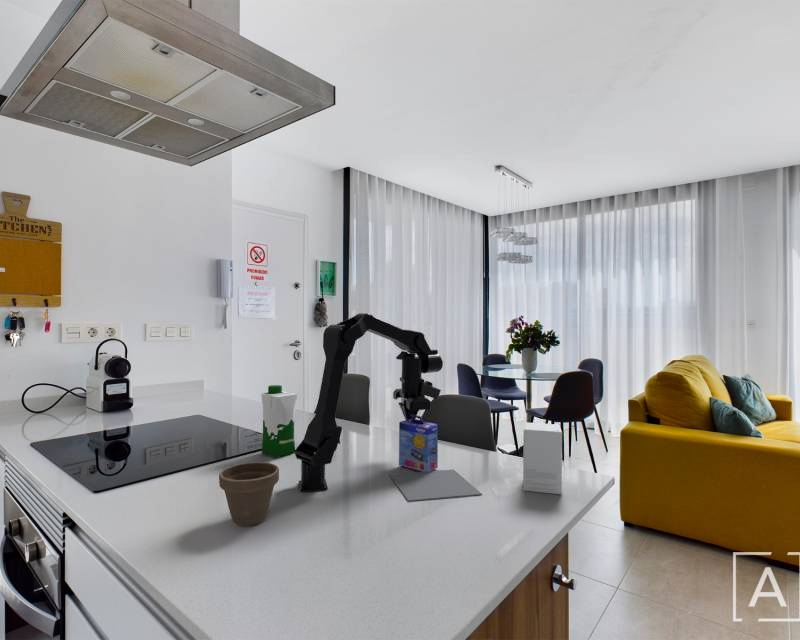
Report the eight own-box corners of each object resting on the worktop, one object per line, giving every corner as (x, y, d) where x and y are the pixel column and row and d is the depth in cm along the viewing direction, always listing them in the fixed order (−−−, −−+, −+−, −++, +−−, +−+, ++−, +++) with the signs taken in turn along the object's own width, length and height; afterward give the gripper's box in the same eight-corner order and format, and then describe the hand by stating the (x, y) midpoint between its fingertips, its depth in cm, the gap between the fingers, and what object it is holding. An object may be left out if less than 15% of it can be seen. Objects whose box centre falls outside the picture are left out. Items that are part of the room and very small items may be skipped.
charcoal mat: (481, 495, 109) (481, 493, 109) (408, 501, 104) (408, 500, 104) (453, 470, 126) (453, 469, 126) (389, 475, 122) (389, 474, 122)
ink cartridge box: (397, 465, 129) (398, 413, 129) (409, 460, 133) (410, 410, 133) (426, 473, 123) (427, 418, 123) (438, 468, 127) (439, 415, 127)
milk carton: (280, 447, 146) (281, 383, 146) (300, 452, 141) (301, 386, 141) (257, 453, 139) (258, 386, 139) (276, 459, 134) (277, 390, 134)
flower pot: (215, 536, 87) (216, 482, 87) (220, 511, 98) (221, 463, 98) (279, 529, 90) (280, 477, 90) (277, 506, 101) (278, 459, 101)
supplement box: (559, 482, 119) (560, 423, 118) (562, 495, 110) (563, 432, 110) (522, 478, 121) (523, 421, 121) (522, 490, 112) (523, 428, 112)
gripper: (449, 378, 128) (448, 435, 128) (427, 370, 146) (426, 419, 146) (410, 379, 125) (409, 437, 125) (393, 370, 143) (392, 421, 143)
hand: (410, 428), depth 135 cm, fingers closed
